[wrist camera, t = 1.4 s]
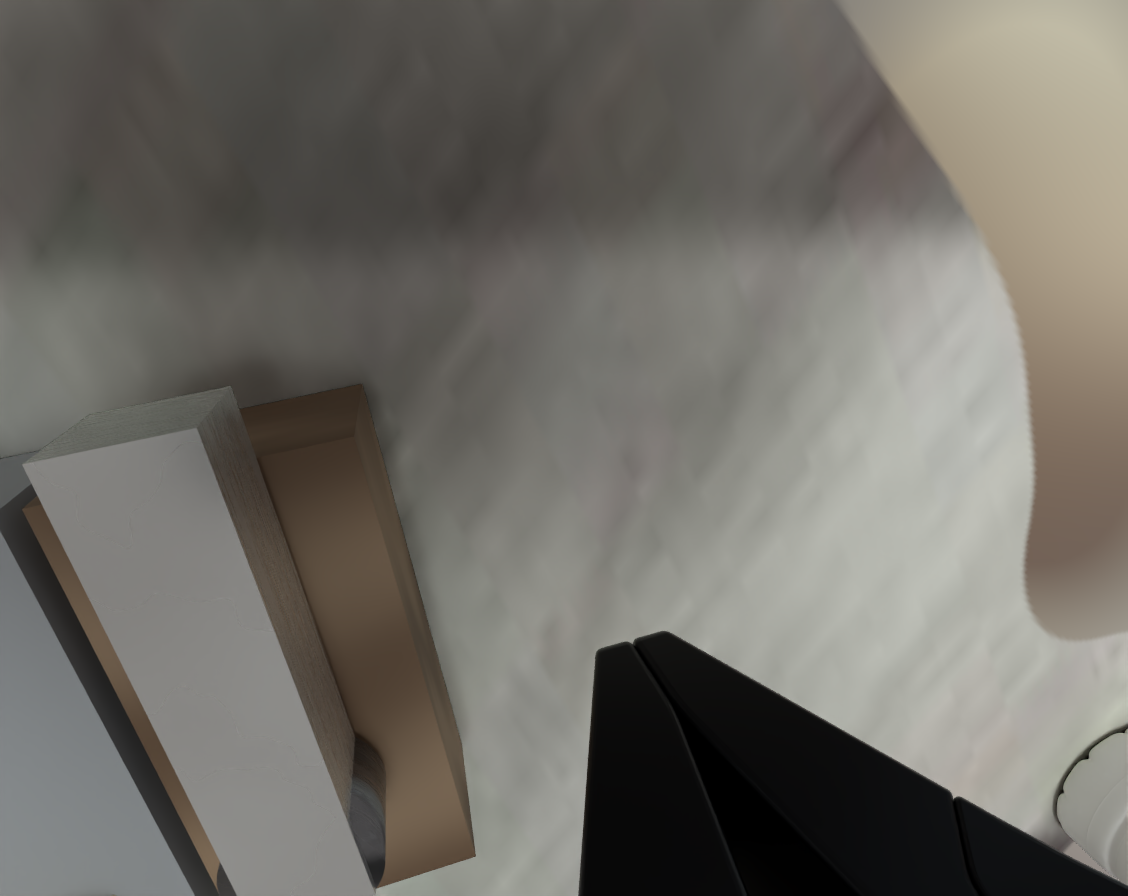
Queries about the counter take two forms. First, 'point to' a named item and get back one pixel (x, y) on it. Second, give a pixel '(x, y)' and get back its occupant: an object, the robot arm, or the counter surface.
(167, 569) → the bar
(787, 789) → the robot arm
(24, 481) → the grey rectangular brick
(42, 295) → the counter surface
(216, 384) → the counter surface
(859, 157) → the counter surface
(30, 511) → the jamb block
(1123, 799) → the water bottle
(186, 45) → the counter surface
